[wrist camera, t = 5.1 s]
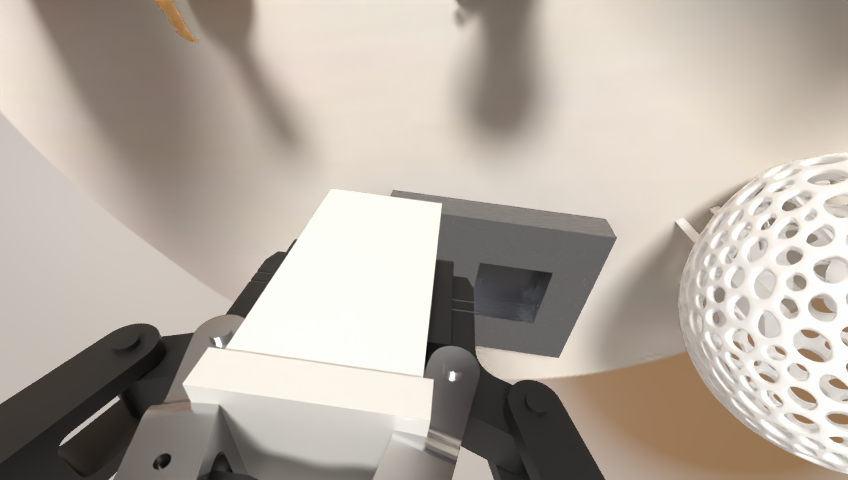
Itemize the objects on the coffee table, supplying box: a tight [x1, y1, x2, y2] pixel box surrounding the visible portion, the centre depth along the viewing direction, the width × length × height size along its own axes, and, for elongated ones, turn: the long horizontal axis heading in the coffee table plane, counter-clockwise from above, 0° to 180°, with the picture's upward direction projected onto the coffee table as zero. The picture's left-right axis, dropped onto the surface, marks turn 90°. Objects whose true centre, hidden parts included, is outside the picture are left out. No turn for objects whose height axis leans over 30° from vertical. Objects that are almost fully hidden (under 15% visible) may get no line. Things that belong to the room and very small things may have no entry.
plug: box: [182, 189, 442, 480], centre depth 11 cm, size 4×4×8 cm
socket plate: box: [391, 190, 617, 358], centre depth 30 cm, size 16×13×3 cm
